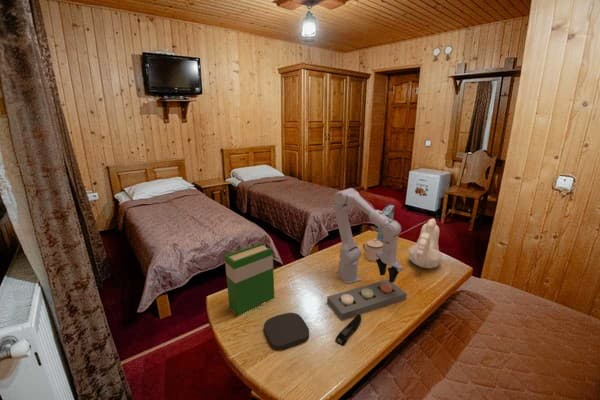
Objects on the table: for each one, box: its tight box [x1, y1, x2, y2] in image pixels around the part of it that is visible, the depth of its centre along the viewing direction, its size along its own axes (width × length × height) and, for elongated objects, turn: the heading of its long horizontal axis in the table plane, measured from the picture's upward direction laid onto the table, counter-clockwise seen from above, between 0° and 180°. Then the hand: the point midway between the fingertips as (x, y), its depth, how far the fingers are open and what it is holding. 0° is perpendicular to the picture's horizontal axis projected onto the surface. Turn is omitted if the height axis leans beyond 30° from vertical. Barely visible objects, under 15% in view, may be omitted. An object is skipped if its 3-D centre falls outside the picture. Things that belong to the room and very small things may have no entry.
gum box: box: [376, 204, 395, 243], centre depth 170 cm, size 20×5×23 cm, turn 151°
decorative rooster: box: [407, 218, 442, 270], centre depth 145 cm, size 25×16×25 cm, turn 133°
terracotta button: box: [380, 283, 392, 294], centre depth 124 cm, size 5×5×2 cm
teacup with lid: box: [362, 238, 383, 263], centre depth 157 cm, size 12×9×12 cm
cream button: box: [341, 294, 354, 307], centre depth 117 cm, size 5×5×2 cm
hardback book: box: [224, 242, 275, 317], centre depth 117 cm, size 18×7×24 cm, turn 130°
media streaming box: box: [263, 312, 310, 351], centre depth 104 cm, size 15×15×3 cm
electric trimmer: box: [334, 314, 362, 347], centre depth 104 cm, size 4×16×3 cm, turn 142°
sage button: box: [361, 288, 374, 300], centre depth 120 cm, size 5×5×2 cm
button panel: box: [326, 278, 408, 321], centre depth 121 cm, size 12×32×3 cm, turn 114°
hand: (387, 278), depth 123 cm, fingers open, 5 cm apart
